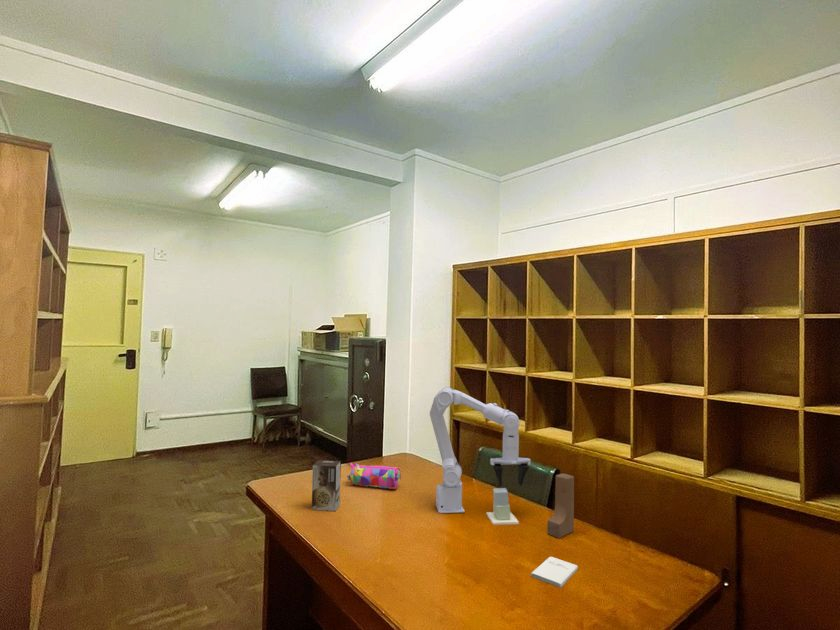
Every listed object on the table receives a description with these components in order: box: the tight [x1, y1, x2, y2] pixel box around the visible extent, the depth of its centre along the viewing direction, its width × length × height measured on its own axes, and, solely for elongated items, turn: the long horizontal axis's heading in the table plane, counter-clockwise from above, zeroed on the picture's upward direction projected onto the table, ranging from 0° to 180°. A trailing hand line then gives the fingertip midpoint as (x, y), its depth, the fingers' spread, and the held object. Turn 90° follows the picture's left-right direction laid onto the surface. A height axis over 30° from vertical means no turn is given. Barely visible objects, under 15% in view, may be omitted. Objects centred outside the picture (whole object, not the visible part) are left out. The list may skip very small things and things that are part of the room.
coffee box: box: [311, 459, 342, 512], centre depth 164 cm, size 9×6×16 cm
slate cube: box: [492, 487, 509, 506], centre depth 157 cm, size 4×4×4 cm
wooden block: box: [546, 473, 575, 539], centre depth 147 cm, size 9×4×18 cm, turn 131°
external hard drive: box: [530, 556, 579, 589], centre depth 121 cm, size 2×8×12 cm
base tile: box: [485, 511, 520, 526], centre depth 157 cm, size 9×9×2 cm
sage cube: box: [492, 501, 511, 520], centre depth 156 cm, size 4×4×4 cm
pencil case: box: [346, 462, 402, 490], centre depth 188 cm, size 22×9×9 cm, turn 77°
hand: (510, 484), depth 162 cm, fingers open, 7 cm apart
